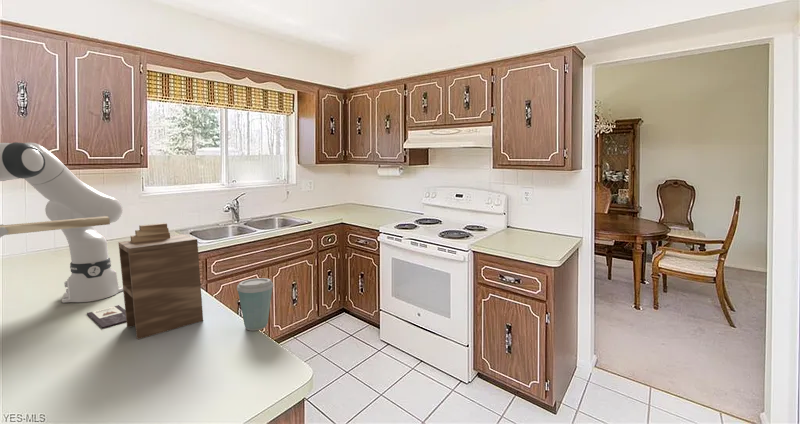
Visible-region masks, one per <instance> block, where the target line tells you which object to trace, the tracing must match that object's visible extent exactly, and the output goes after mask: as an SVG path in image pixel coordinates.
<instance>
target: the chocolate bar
mask: <svg viewBox="0 0 800 424" xmlns="http://www.w3.org/2000/svg"><path fill="white" fill-rule="evenodd" d="M86 315H87V316H88V317H89V318H90V319H91V320H92V321H94V323H95V324H97V325H98V326H99V328H101V329H103V330H104V329H107V328H110V327H114V326H118V325H122V324H126V323H127V322H126V312H125V308H123V307H122V306H120V304H119V305H114V306H110V307H105V308H102V309H97V310H94V311H89V312H86Z"/></svg>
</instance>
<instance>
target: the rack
mask: <svg viewBox="0 0 800 424" xmlns="http://www.w3.org/2000/svg"><path fill="white" fill-rule="evenodd" d="M138 227H139V229H136V230H135V231H134V232H135V233H134V235H130V240H126V241H118V243H117V244H118V250H119V261H120V262H119V263H120V271H121V280H122V281H121V282H122V287H123V291H122V292H123V299H124V300H123V302H124V309H125V312H126V322H125V323H126V328H131V327H135V334H136V335H135V336H136V339H137V340H140V339H145V338H147V337H151V336H154V335H158V334H162V333H165V332H169V331H172V330H176V329H179V328H182V327H186V326H190V325H192V324H196V323H201V322H202V321H204V314H203V301H202V300H203V299H202V287H201V286H202V285H201V272H200V271H201V270H200V259H199V244H198V239H197V238H196V237H192V236H191V235H187V234H184V233H182V234H181V233H180V234H173V235H171V233H170V231H169V230H170V229H169V227H168V223H166V222H160V223H151V224H140V225H139V226H138Z"/></svg>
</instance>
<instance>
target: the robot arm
mask: <svg viewBox="0 0 800 424" xmlns="http://www.w3.org/2000/svg"><path fill="white" fill-rule="evenodd" d="M19 179H22V180H23V179H24V180H25V181H26V183H28V184H29V185H30V186H31V187H32V188H34V189H35V190H36V191H37V192H38V193H39V194H40V195H42V196H43V197H44V198H45V199H47V200H49V201H48V202H47V203H46V204H45V209H44V211H45V215H46V217H47V219H49V221H56V220H68V219H79V218H90V217H102V216H107V217H109V220H110V224H112V223H115V222H117V221H119V220H120V219H121V217H122V215H123V206H122V203H121V201H120V200H119V199H117V198H115V197H112V196H110V195H107V194H105V193H103V192H101V191H98V190H97V189H96V188H93V187H92V186H90V185H89V184H88V183H85V182H84V181H82V180H81V179H80V178H79V177H77V176H76V174H74V173H73V172H72V171H71V170H70V169H69V168H68V167H67V166H66V165H65V164H64V163H63V162H62V161H61V160H60V159H59V158H58V157H57V156H56V155H55V154H54V153H52V152H51V151H49V150H48V149H47V148H46V147H44V146H42V145H41V144H39V143H36V142H16V141H15V142H0V182H5V181H12V180H13V181H14V180H19ZM0 225H4V224H2V223H1V224H0ZM60 230H61V231H62V233H63V234H64V236H65V238H66V240H67V244H68V248H69V256H70V260H71V261H70V264H69V269H70V273H71V274H70V276H68V278H67V279H66V281H64V282H63V283H64V287H65V288H66V289H65V292H64V294H63V296H62V299H61V303H87V302H93V301H94V302H95V301H100V300H103V299H106V298H109V297H112V296H114V295H117V294H118V293H121V292H123V286H122V285H121V286H120V285H119V282H118V280H119V279H118V275H117V274H118V273H117V271H116V270H115V269H113V268H112V261H111V258H110V257H109V248H108V240H107V238H106V237H105V236H104V235H103V234H101V233H100V232H98V231H97V229H96V228H95V226H89V227H79V228H69V229H60ZM6 234H8V230H7V229H6V228H5V227H0V238H3V236H7V235H6Z"/></svg>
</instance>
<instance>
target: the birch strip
mask: <svg viewBox="0 0 800 424" xmlns="http://www.w3.org/2000/svg"><path fill="white" fill-rule="evenodd" d="M105 225H107V226H109V225H111V223H110V220H109V217H107V216H102V217H90V218H79V219H68V220H56V221H51V220H48V221H47V220H46V221H36V222H28V223H27V222H23V223H13V224H3V225H1V224H0V227H5V228H6V229H7V230H8V234H6V235H5V236H7V235H8V236H9V235H18V234H26V233H27V234H28V233H30V234H31V233H37V232H46V231H47V232H49V231H57V230H61V229H69V228H79V227H89V226H94V227H95V226H96V227H97V226H105Z"/></svg>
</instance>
